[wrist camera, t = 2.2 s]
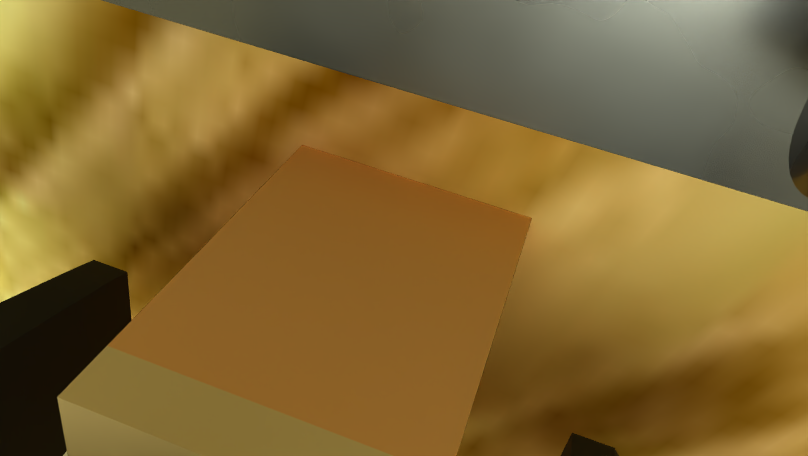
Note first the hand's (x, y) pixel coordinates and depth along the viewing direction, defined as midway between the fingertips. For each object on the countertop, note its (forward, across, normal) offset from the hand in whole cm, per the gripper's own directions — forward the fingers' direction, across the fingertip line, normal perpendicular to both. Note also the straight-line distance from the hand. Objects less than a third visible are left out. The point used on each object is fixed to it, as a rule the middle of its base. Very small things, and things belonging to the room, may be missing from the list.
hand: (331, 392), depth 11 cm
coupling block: (+3, 0, 0) cm, 3 cm away
